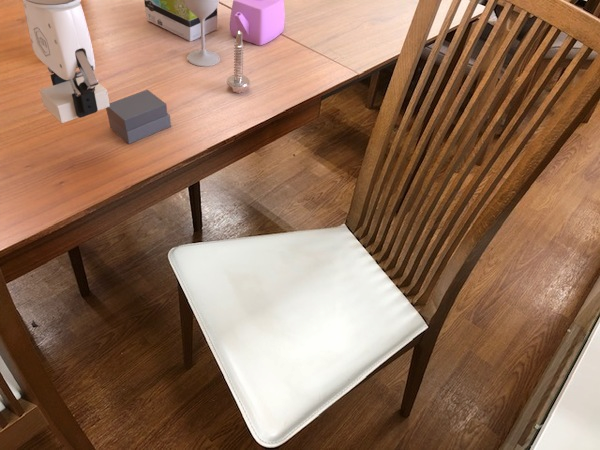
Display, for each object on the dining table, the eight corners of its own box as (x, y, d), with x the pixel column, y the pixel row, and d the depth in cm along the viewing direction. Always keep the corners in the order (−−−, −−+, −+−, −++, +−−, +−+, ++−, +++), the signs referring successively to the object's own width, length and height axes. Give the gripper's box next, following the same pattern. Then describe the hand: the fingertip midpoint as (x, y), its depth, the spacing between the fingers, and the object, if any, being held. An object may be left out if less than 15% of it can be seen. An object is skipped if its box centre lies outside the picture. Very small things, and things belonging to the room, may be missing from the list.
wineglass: (186, 66, 111) (180, -35, 96) (186, 50, 116) (180, -49, 101) (221, 67, 112) (220, -33, 97) (219, 50, 118) (218, -47, 103)
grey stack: (129, 144, 91) (124, 120, 87) (110, 127, 93) (105, 104, 90) (171, 126, 95) (168, 103, 92) (152, 111, 98) (149, 88, 95)
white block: (61, 123, 76) (57, 106, 74) (43, 106, 78) (39, 89, 76) (110, 106, 80) (107, 89, 78) (91, 90, 83) (88, 74, 81)
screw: (231, 81, 109) (252, 86, 108) (223, 93, 105) (245, 98, 105) (231, 22, 99) (254, 27, 99) (222, 32, 96) (247, 38, 95)
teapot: (254, 54, 118) (255, 10, 111) (217, 39, 121) (216, -4, 114) (292, 28, 130) (296, -13, 122) (258, 15, 133) (260, -25, 125)
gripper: (-9, -33, 68) (26, 87, 81) (55, 17, 60) (83, 140, 73) (45, -42, 72) (71, 73, 85) (111, 4, 65) (128, 122, 77)
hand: (76, 103), depth 79 cm, fingers closed on white block, 5 cm apart
